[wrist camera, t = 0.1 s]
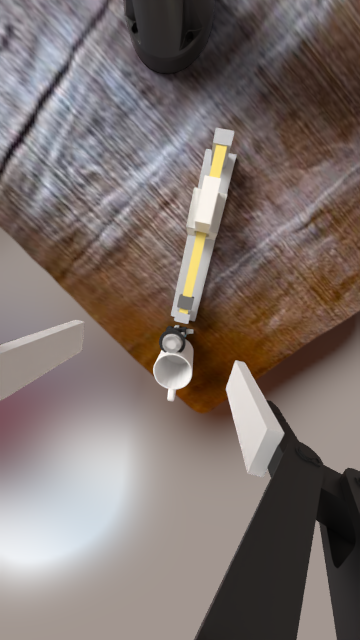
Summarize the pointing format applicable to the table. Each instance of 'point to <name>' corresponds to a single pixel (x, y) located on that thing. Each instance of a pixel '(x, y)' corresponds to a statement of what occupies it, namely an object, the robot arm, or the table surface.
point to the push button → (174, 339)
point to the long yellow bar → (199, 241)
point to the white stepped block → (206, 208)
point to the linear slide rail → (224, 139)
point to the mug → (174, 369)
